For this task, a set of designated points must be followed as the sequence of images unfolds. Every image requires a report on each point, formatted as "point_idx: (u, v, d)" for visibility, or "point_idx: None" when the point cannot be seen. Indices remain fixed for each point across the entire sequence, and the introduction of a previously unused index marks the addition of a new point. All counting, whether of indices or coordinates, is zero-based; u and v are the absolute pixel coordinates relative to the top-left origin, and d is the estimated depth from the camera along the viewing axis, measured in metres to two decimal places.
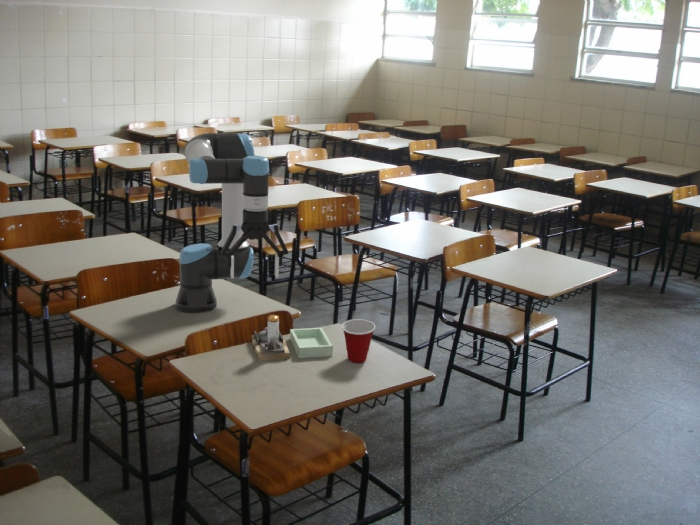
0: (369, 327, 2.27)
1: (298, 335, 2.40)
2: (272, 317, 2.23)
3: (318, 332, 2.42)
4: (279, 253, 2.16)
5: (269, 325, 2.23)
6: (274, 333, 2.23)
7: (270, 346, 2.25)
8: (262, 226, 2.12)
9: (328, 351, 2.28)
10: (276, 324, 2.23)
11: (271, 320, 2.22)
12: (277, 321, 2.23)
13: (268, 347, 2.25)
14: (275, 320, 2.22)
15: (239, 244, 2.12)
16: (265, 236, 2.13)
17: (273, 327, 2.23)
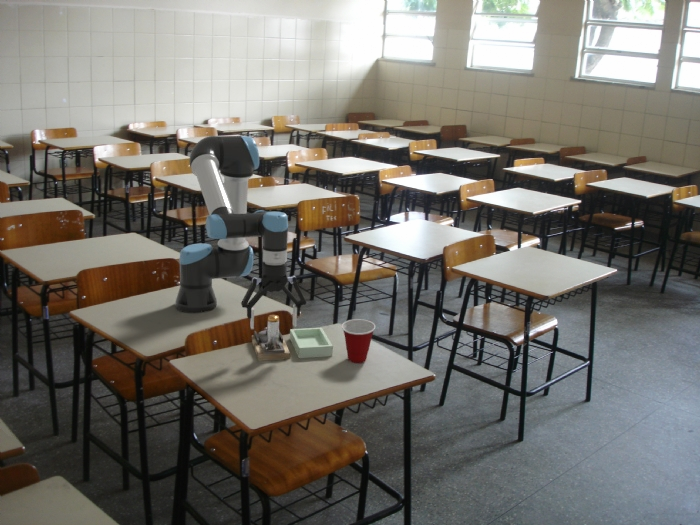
0: (369, 327, 2.27)
1: (298, 335, 2.40)
2: (272, 317, 2.23)
3: (318, 332, 2.42)
4: (297, 304, 2.23)
5: (269, 325, 2.23)
6: (274, 333, 2.23)
7: (270, 346, 2.25)
8: (281, 279, 2.19)
9: (328, 351, 2.28)
10: (276, 324, 2.23)
11: (271, 320, 2.22)
12: (277, 321, 2.23)
13: (268, 347, 2.25)
14: (275, 320, 2.22)
15: (259, 296, 2.19)
16: (284, 288, 2.20)
17: (273, 327, 2.23)
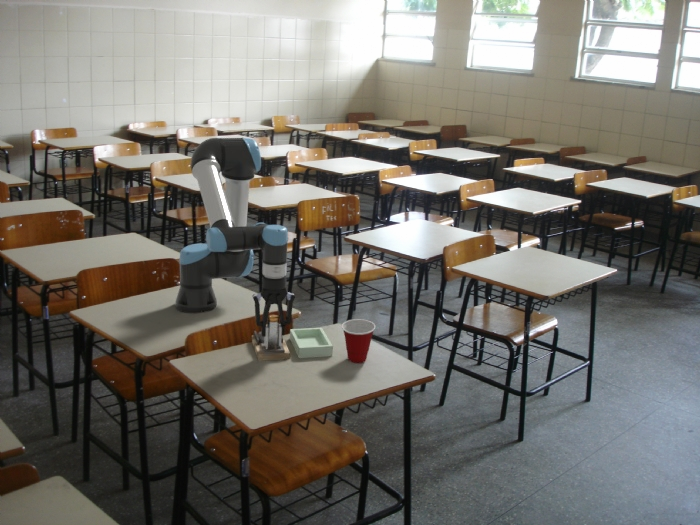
0: (369, 327, 2.27)
1: (298, 335, 2.40)
2: (272, 317, 2.23)
3: (318, 332, 2.42)
4: (283, 323, 2.24)
5: (269, 325, 2.23)
6: (274, 333, 2.23)
7: (270, 346, 2.25)
8: (282, 290, 2.21)
9: (328, 351, 2.28)
10: (276, 324, 2.23)
11: (271, 320, 2.22)
12: (277, 321, 2.23)
13: (268, 347, 2.25)
14: (275, 320, 2.22)
15: (267, 312, 2.21)
16: (280, 303, 2.21)
17: (273, 327, 2.23)
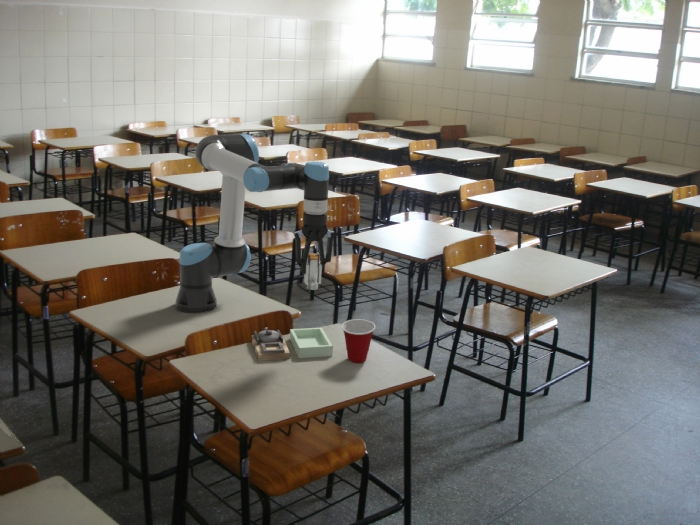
0: (369, 327, 2.27)
1: (298, 335, 2.40)
2: (312, 255, 2.25)
3: (318, 332, 2.42)
4: (323, 260, 2.26)
5: (309, 263, 2.25)
6: (314, 270, 2.25)
7: (310, 284, 2.27)
8: (323, 227, 2.23)
9: (328, 351, 2.28)
10: (316, 262, 2.25)
11: (312, 258, 2.24)
12: (317, 259, 2.25)
13: (308, 285, 2.27)
14: (315, 258, 2.24)
15: (307, 249, 2.23)
16: (321, 240, 2.23)
17: (313, 265, 2.25)
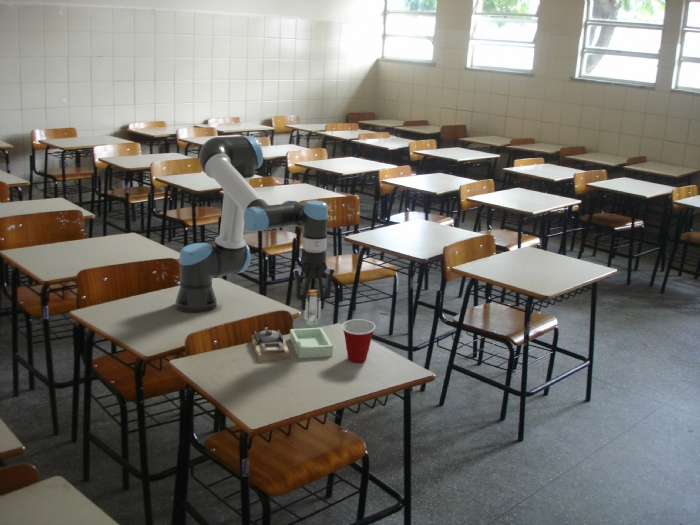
0: (369, 327, 2.27)
1: (298, 335, 2.40)
2: (312, 291, 2.29)
3: (318, 332, 2.42)
4: (322, 297, 2.30)
5: (309, 299, 2.29)
6: (313, 307, 2.29)
7: (310, 320, 2.30)
8: (322, 264, 2.26)
9: (328, 351, 2.28)
10: (316, 298, 2.29)
11: (311, 295, 2.28)
12: (317, 295, 2.29)
13: (308, 321, 2.31)
14: (315, 294, 2.28)
15: (307, 286, 2.27)
16: (320, 277, 2.27)
17: (313, 301, 2.28)
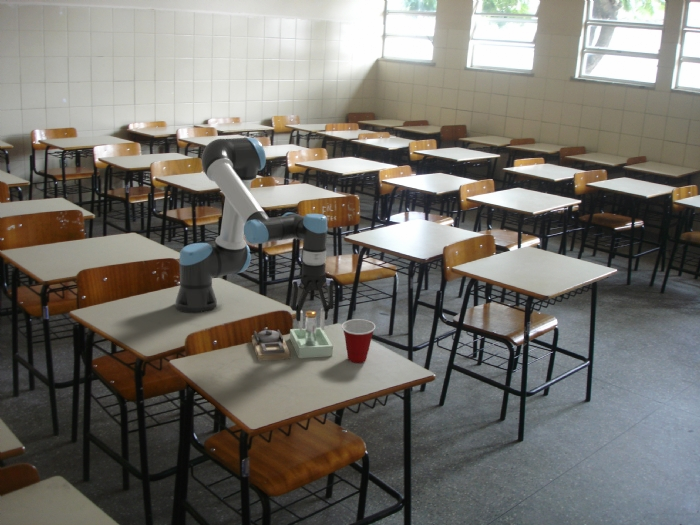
0: (369, 327, 2.27)
1: (298, 335, 2.40)
2: (310, 313, 2.31)
3: (318, 332, 2.42)
4: (326, 308, 2.31)
5: (307, 321, 2.31)
6: (312, 328, 2.31)
7: (309, 341, 2.33)
8: (321, 277, 2.28)
9: (328, 351, 2.28)
10: (314, 319, 2.31)
11: (309, 316, 2.30)
12: (315, 316, 2.31)
13: (306, 342, 2.33)
14: (313, 316, 2.30)
15: (304, 298, 2.28)
16: (320, 289, 2.28)
17: (311, 322, 2.31)
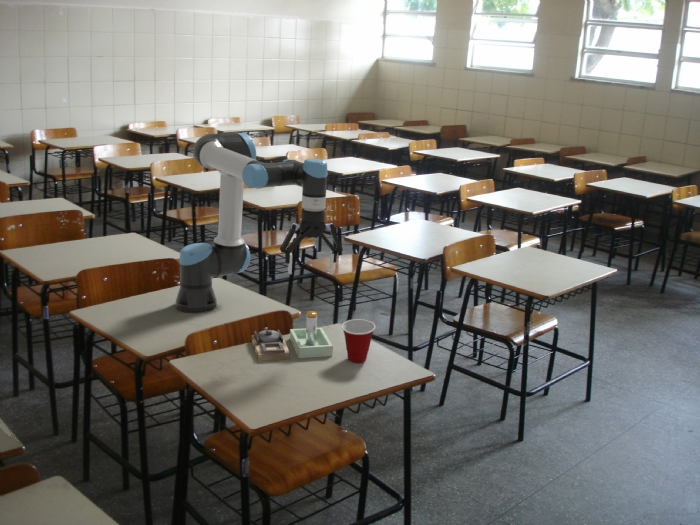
0: (369, 327, 2.27)
1: (298, 335, 2.40)
2: (311, 313, 2.31)
3: (318, 332, 2.42)
4: (334, 250, 2.29)
5: (308, 321, 2.31)
6: (312, 328, 2.31)
7: (309, 341, 2.33)
8: (319, 225, 2.25)
9: (328, 351, 2.28)
10: (315, 320, 2.31)
11: (310, 316, 2.30)
12: (315, 317, 2.31)
13: (306, 342, 2.33)
14: (314, 316, 2.30)
15: (297, 242, 2.24)
16: (322, 234, 2.25)
17: (312, 323, 2.31)
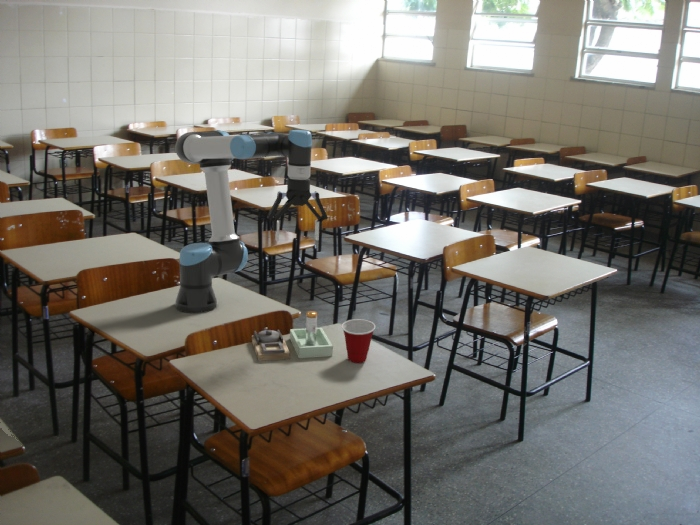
0: (369, 327, 2.27)
1: (298, 335, 2.40)
2: (311, 313, 2.31)
3: (318, 332, 2.42)
4: (319, 218, 2.39)
5: (308, 321, 2.31)
6: (312, 328, 2.31)
7: (309, 341, 2.33)
8: (305, 193, 2.35)
9: (328, 351, 2.28)
10: (314, 320, 2.31)
11: (310, 316, 2.30)
12: (315, 317, 2.31)
13: (306, 342, 2.33)
14: (314, 316, 2.30)
15: (284, 210, 2.34)
16: (307, 202, 2.35)
17: (312, 323, 2.31)
